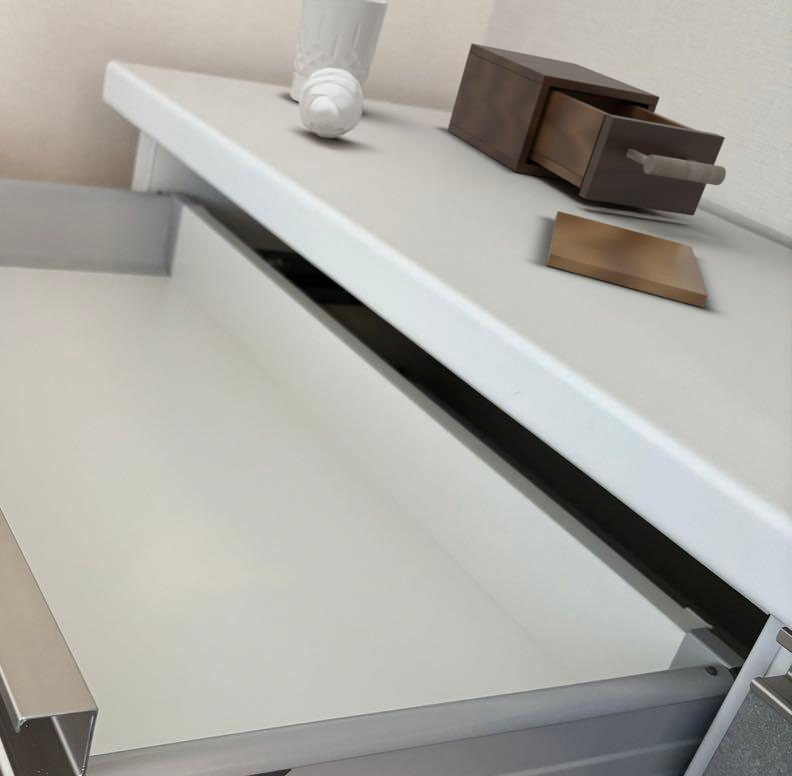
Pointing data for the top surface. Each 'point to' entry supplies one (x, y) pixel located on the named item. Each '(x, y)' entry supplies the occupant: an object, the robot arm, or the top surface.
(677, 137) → the drawer
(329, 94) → the garlic bulb
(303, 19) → the white tapered cylinder
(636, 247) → the cork mat
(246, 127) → the top surface
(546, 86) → the cabinet
